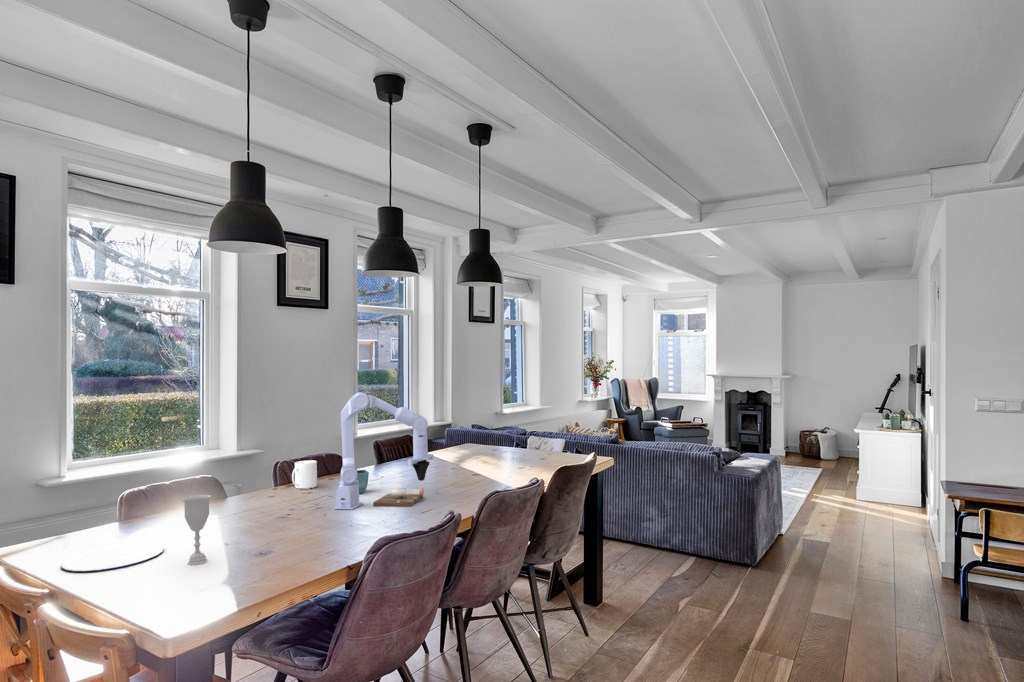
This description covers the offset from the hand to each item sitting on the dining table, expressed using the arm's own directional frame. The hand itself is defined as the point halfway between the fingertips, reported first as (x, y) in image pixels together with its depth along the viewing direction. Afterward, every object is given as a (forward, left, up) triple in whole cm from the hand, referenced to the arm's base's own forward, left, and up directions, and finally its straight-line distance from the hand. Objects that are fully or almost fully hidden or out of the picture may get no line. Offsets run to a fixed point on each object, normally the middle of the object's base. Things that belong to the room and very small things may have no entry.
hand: (421, 480), depth 241 cm
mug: (+20, +62, -8) cm, 66 cm away
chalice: (-79, +39, -8) cm, 89 cm away
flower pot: (+12, +33, -8) cm, 36 cm away
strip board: (-4, +8, -8) cm, 12 cm away
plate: (-78, +67, -8) cm, 103 cm away
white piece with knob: (-4, +4, -5) cm, 8 cm away
